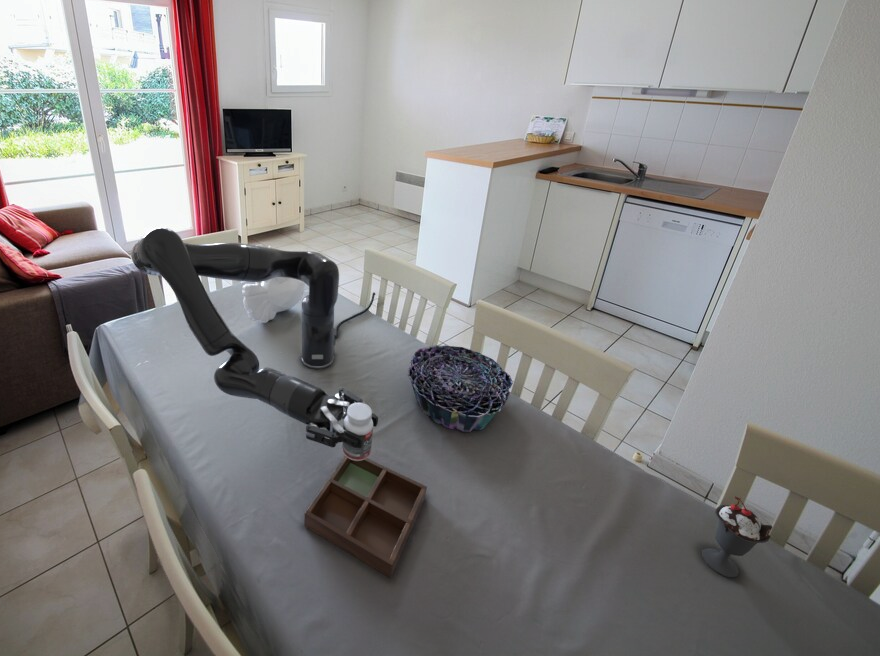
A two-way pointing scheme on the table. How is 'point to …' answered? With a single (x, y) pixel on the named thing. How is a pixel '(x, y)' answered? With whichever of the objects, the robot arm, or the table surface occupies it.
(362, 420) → the pill bottle
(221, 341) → the robot arm
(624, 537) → the table surface
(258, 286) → the decorative rooster
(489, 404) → the decorative bowl
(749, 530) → the sundae
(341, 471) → the grid
